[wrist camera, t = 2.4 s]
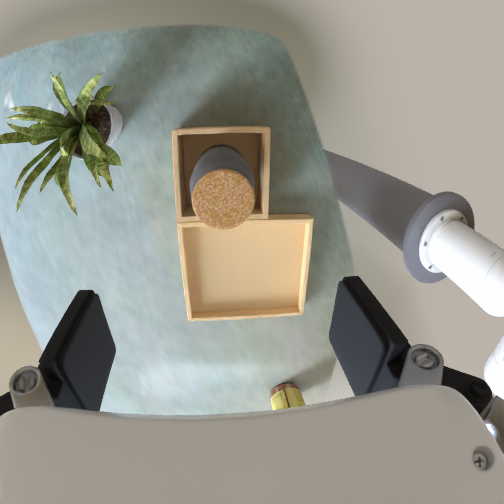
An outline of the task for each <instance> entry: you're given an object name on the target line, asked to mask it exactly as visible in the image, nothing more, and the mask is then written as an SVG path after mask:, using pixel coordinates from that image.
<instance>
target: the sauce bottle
mask: <svg viewBox="0 0 504 504" xmlns="http://www.w3.org/2000/svg"><path fill="white" fill-rule="evenodd" d="M270 398H271V404H272V408H273V410H277V409H285V408H292V407H299V406H306V405H305V403H304V400H303V397H302V394H301V391H300V390H299V388H298V387H297V386H296V385H295V384H293V383H287V384H281V385H278V386H276V387H275V388H273V390H272V391H271V393H270Z"/></svg>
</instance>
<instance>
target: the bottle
mask: <svg viewBox="0 0 504 504" xmlns="http://www.w3.org/2000/svg"><path fill="white" fill-rule="evenodd" d="M254 189H255V181H254V177H253V174H252V171H251V169H250V168H249V166H248V164H247V163H246V161H245V159H244V158H243V156H242V155H241V154H240V152H239V151H237V150H236V149H235V148H233V147H231V146H229V145H223V144H220V145H214V146H212V147H210V148H208V149H207V150H205V151H204V152H203V153H202V155H201V156H200V158H199V160H198V162H197V164H196V166H195V168H194V171H193V173H192V176H191V180H190V193H191V198H192V206H193V210H194V212H195V214H196V216H197V217H198V218H199V219H200V221H201V222H203V223H204V224H205V225H207V226H209V227H211V228H214V229H220V230H226V229H232V228H235V227H237V226H239V225H241V224H242V223H243V222H245V221H246V220H247V219H248V217H249V216H250V214H251V213H252V211H253V208H254V204H255V195H254Z"/></svg>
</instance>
